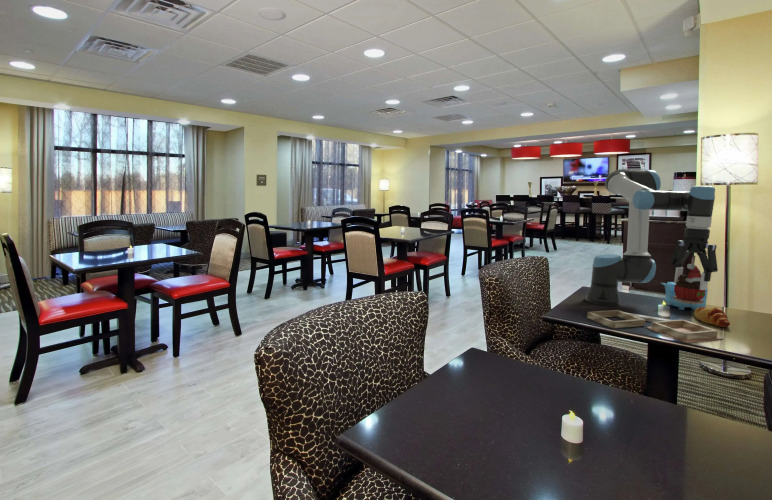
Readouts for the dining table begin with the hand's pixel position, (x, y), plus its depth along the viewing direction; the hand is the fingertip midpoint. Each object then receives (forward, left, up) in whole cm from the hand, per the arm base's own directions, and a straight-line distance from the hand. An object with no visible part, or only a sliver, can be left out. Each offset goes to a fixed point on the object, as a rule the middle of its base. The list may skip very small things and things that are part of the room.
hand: (690, 286), depth 162 cm
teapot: (-30, +34, -19) cm, 49 cm away
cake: (0, 0, -6) cm, 6 cm away
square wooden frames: (-9, -7, -19) cm, 22 cm away
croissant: (-10, +28, -19) cm, 35 cm away
